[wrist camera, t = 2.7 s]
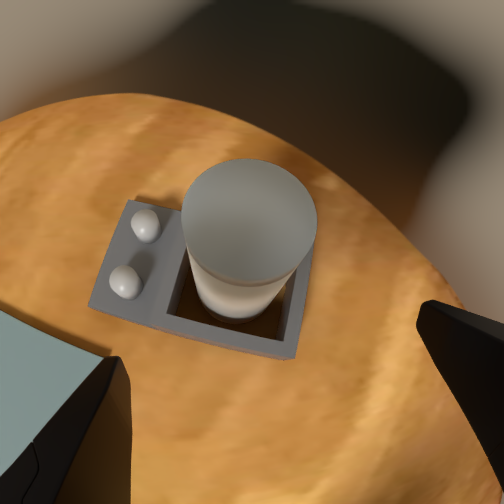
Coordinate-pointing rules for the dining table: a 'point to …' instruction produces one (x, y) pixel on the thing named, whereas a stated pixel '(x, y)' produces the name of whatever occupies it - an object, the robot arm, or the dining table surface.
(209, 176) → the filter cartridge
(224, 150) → the dining table surface
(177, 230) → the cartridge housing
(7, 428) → the rubber mat
